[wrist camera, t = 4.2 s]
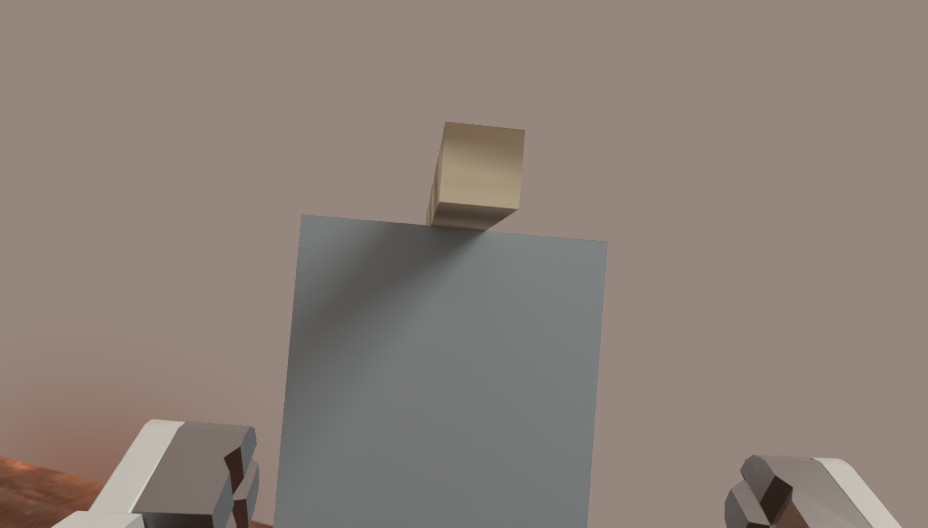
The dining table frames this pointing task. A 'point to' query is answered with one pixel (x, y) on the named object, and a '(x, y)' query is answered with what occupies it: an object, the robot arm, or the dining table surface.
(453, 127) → the birch rod
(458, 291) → the podium
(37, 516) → the dining table surface
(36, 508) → the dining table surface
